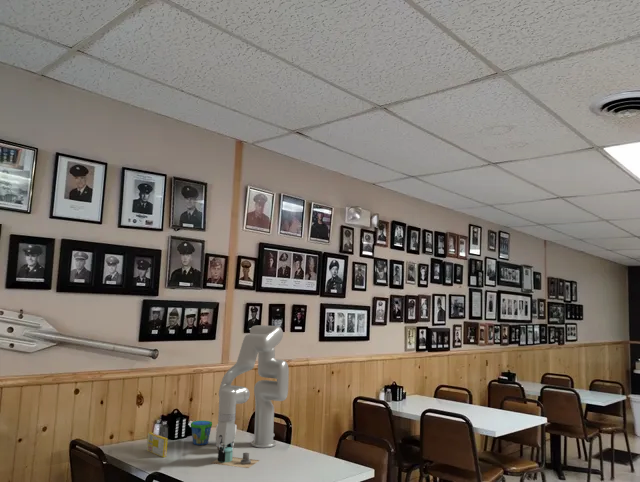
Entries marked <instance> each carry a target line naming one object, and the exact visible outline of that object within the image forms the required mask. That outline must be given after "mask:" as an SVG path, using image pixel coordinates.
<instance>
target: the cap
mask: <svg viewBox="0 0 640 482" xmlns="http://www.w3.org/2000/svg"><path fill="white" fill-rule="evenodd" d="M222 448H223V447H222ZM233 450H234V447H233V448H231V447H225V462H231V461H232V457H233V453H234V452H233ZM225 462H223V463H225Z"/></svg>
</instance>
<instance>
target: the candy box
mask: <svg viewBox="0 0 640 482" xmlns="http://www.w3.org/2000/svg"><path fill="white" fill-rule="evenodd" d="M168 440H169V439H168V438H167V437H166V436H165V437H164V436H162V435H159V434H157V433H154V432H152V431H151V432H147V440H146V451H147V452H149V453H152V454H153V455H157V456H158V457H162V458H167V454H168V453H167V451H168Z"/></svg>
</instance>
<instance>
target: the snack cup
mask: <svg viewBox="0 0 640 482" xmlns="http://www.w3.org/2000/svg"><path fill="white" fill-rule="evenodd" d="M212 426H213V422H212V421H210V420H196V421H195V420H194V421H192V422H191V423H190V428H191V435H192V436H191V437H192V443H193V444H194V445H197V446H204V445H207V444H209V440H210V435H211V431H212V430H211V429H212Z"/></svg>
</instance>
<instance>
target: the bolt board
mask: <svg viewBox="0 0 640 482" xmlns="http://www.w3.org/2000/svg"><path fill="white" fill-rule="evenodd" d="M260 461H261V460H260V459H252V458H250V452H243V453H242V457H236V456H232V461H231V462H225V463H223V462H219V461H218V458H217V459H215V460H213V461H212V462H210V464H211V465H212V464H214V465H220V466H227V467H237V468H242V469H243V468H244V469H250V468H251V467H252V466H254V465H255V464H257V463H258V462H260Z"/></svg>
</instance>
